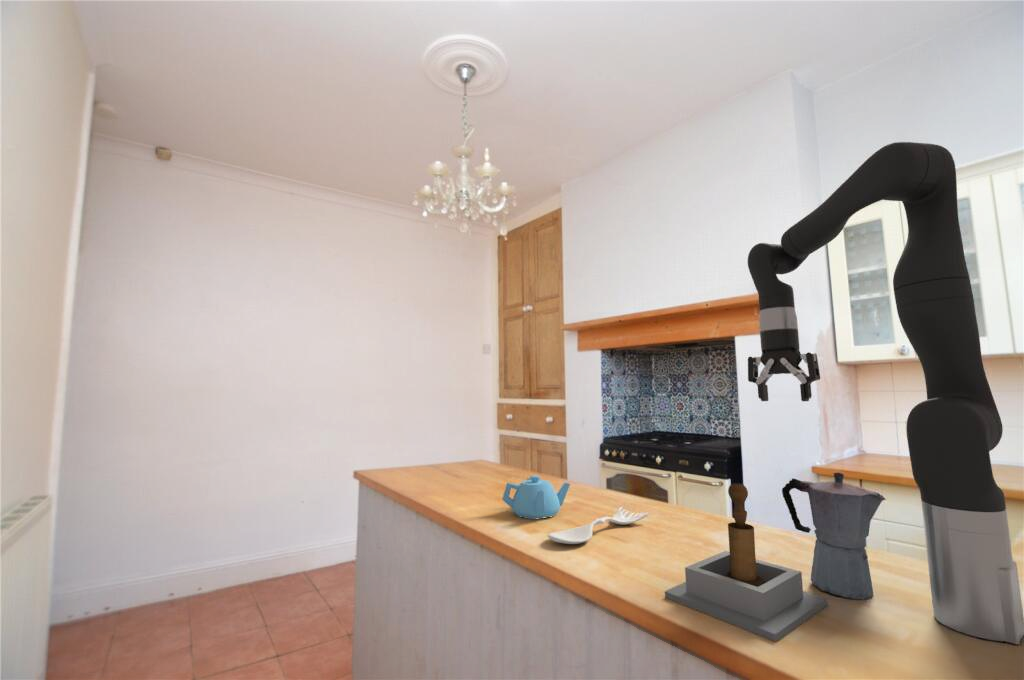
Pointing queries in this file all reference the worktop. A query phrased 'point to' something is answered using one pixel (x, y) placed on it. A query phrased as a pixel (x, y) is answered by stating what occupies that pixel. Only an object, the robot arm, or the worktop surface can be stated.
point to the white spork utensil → (585, 531)
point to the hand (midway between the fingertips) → (784, 401)
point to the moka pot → (838, 534)
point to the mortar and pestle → (741, 540)
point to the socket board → (748, 596)
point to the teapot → (535, 498)
